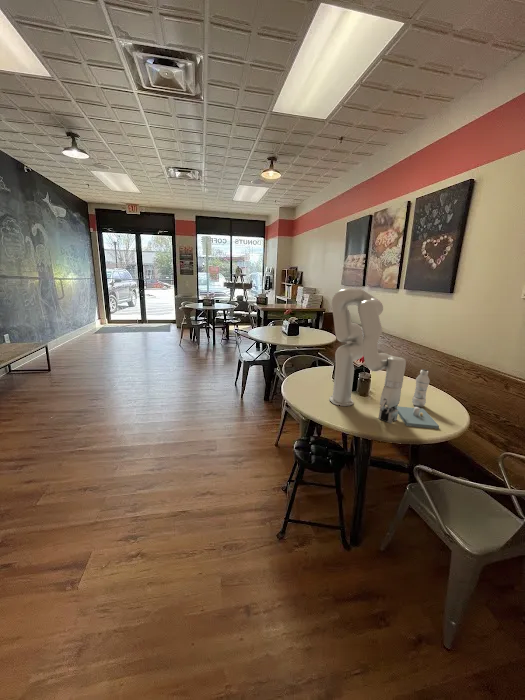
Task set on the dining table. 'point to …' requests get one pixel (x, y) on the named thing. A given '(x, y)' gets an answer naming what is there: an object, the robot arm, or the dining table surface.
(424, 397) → the plastic bottle
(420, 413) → the base plate
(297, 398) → the dining table surface
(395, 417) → the collar
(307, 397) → the dining table surface
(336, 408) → the dining table surface
